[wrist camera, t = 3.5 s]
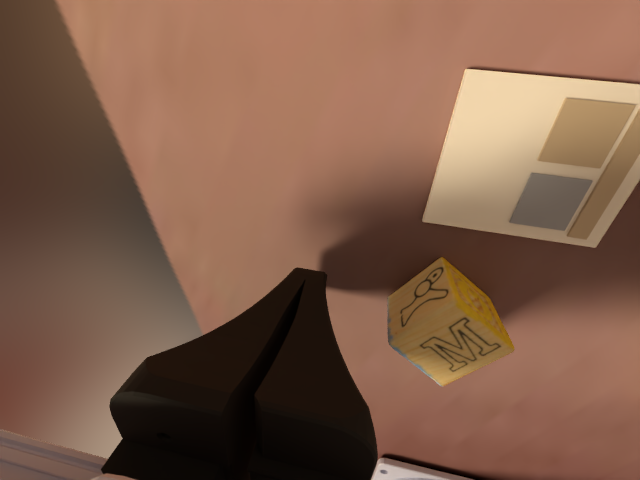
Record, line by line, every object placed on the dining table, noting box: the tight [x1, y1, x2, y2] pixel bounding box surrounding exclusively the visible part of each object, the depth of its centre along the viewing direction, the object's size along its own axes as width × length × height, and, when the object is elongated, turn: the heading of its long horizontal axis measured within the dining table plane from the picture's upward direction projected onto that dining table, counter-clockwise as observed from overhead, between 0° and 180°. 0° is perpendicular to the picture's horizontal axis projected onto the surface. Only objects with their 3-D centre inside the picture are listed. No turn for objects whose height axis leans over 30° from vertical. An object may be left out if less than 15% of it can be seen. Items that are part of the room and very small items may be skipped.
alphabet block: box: [387, 257, 514, 386], centre depth 12 cm, size 3×3×3 cm
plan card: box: [422, 69, 640, 248], centre depth 9 cm, size 5×6×1 cm
